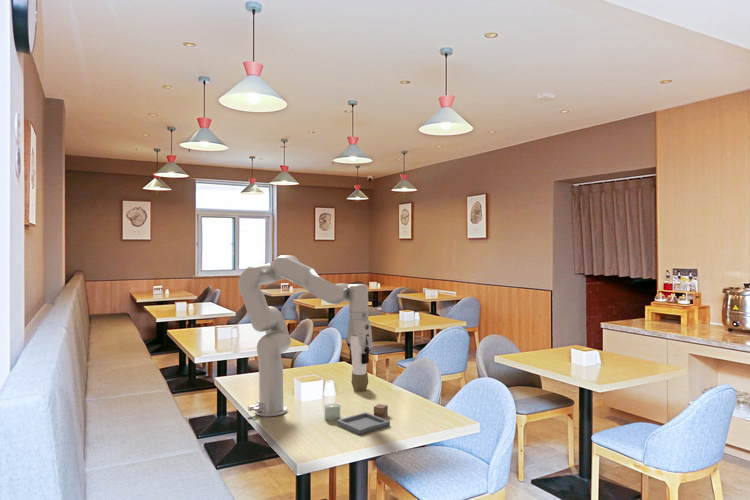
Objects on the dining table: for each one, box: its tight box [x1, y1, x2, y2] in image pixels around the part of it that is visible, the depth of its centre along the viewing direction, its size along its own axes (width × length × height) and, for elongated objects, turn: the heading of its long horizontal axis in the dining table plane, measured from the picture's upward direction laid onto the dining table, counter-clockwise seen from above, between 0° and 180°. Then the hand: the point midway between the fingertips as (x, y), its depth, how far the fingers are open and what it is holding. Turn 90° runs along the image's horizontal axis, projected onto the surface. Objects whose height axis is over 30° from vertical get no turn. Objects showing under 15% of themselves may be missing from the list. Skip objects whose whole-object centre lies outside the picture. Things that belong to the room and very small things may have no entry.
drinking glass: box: [350, 336, 368, 375], centre depth 195 cm, size 7×7×15 cm
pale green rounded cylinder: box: [324, 403, 341, 422], centre depth 194 cm, size 6×6×5 cm
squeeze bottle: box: [350, 365, 369, 392], centre depth 235 cm, size 8×8×18 cm
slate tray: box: [336, 412, 391, 436], centre depth 186 cm, size 14×14×2 cm
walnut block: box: [373, 403, 389, 419], centre depth 197 cm, size 4×4×4 cm
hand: (359, 361), depth 195 cm, fingers closed on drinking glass, 6 cm apart
